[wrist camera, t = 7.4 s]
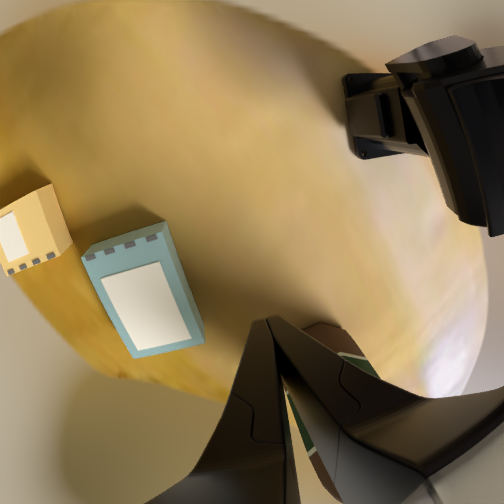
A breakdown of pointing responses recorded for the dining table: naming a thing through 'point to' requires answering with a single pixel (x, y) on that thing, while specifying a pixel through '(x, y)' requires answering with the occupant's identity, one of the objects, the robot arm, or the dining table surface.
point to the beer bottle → (349, 351)
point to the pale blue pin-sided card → (145, 291)
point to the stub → (32, 231)
